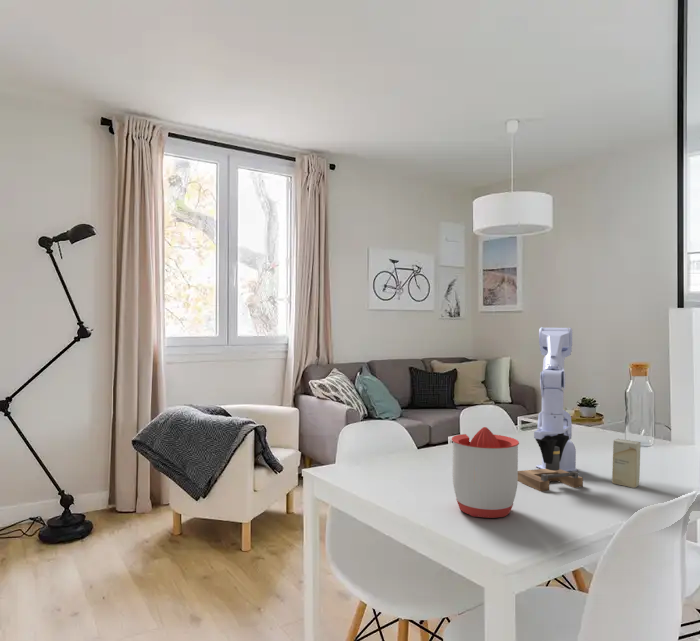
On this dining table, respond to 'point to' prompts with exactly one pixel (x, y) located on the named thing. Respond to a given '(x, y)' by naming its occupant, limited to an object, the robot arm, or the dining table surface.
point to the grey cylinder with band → (555, 460)
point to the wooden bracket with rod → (548, 478)
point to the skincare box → (626, 463)
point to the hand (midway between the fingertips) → (552, 462)
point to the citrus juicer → (485, 473)
